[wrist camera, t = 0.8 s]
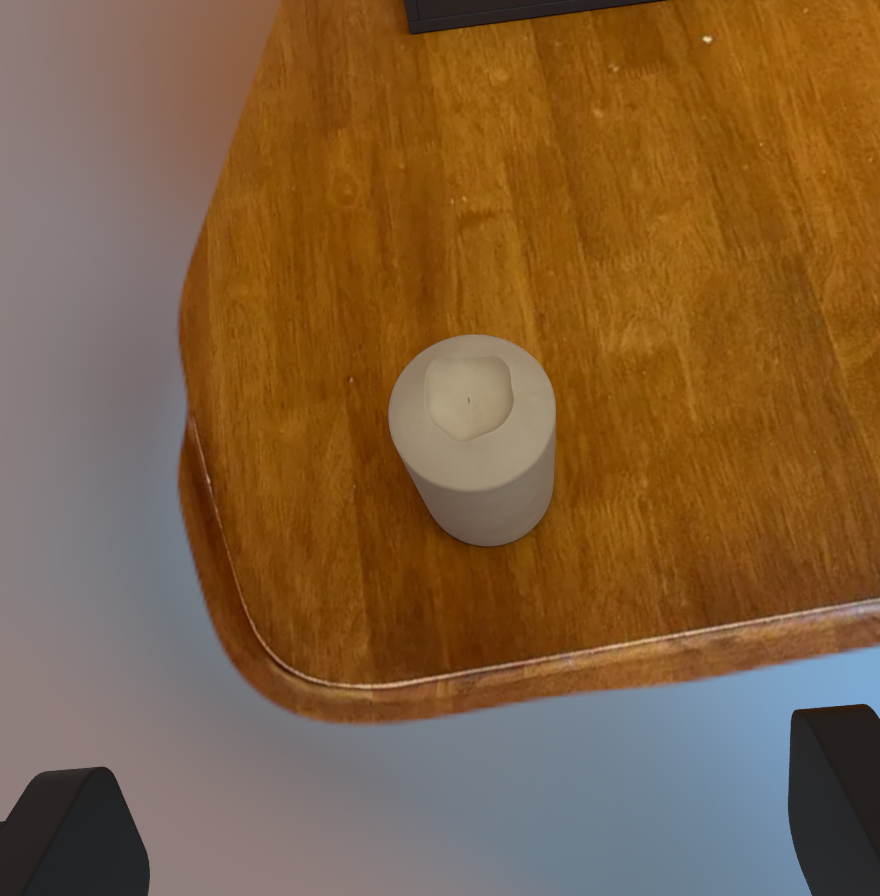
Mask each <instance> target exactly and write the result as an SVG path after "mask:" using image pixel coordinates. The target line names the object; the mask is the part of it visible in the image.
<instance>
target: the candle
mask: <svg viewBox="0 0 880 896" xmlns="http://www.w3.org/2000/svg"><path fill="white" fill-rule="evenodd" d="M388 420H389V428H390V433H391V437H392V439H393V442H394V444H395V447H396V449H397V451H398V453H399V455H400V457H401V458H402V460H403V462H404V464H405V466H406V468H407V470H408V472H409V474H410V476H411V478H412V479H413V481H414V483H415V485H416V487H417V489H418V491H419V493H420V495H421V497H422V498H423V500H424V502H425V504H426V506H427V508H428V510H429V511H430V513H431V515H432V516H433V518H434V519H435V521H436V522H437V523H438V524H439V525H440V526H441V527H442V528H443V529H444V530H445V531H446V532H447V533H449V534H450V535H451V536H453V537H455V538H457V539H459V540H461V541H463V542H466V543H469V544H473V545H477V546H498V545H503V544H507V543H510V542H513V541H515V540H517V539H519V538H521V537H522V536H524V535H526V534H527V533H528V532H529V531H531V530H532V529H533V528H534V527H535V526H536V525H537V524H538V523H539V521H540V520H541V519H542V517H543V516H544V514H545V512H546V511H547V509H548V506H549V504H550V501H551V497H552V493H553V484H554V461H555V425H556V405H555V397H554V392H553V389H552V386H551V383H550V380H549V378H548V376H547V374H546V373H545V371H544V370H543V368H542V367H541V365H540V364H539V363H538V362H537V361H536V360H535V359H534V357H532V356H531V355H530V354H529V353H528V352H527V351H525V350H524V349H522V348H521V347H519V346H517V345H516V344H514V343H511V342H509V341H507V340H504V339H501V338H498V337H493V336H488V335H477V334H476V335H462V336H456V337H452V338H449V339H445V340H443V341H441V342H438V343H436V344H434V345H432V346H430V347H429V348H427V349H425V350H424V351H423V352H421V353H420V354H418V355H417V356H416V357H415V358H414V359H413V360H412V361H411V362H410V363H409V364H408V365H407V366H406V368H405V369H404V370H403V372H402V373H401V375H400V376H399V378H398V380H397V382H396V384H395V386H394V388H393V391H392V394H391V397H390V403H389V412H388Z"/></svg>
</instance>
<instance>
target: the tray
mask: <svg viewBox="0 0 880 896" xmlns="http://www.w3.org/2000/svg"><path fill="white" fill-rule="evenodd" d="M650 1H658V0H404V4H405V9H406V14H407V19H408V24H409V29H410V33H412V34H413V33H420V32H427V31H435V30H442V29H450V28H457V27H465V26H472V25H479V24H487V23H494V22H502V21H509V20H517V19H524V18H532V17H539V16H546V15H554V14H561V13H569V12H576V11H584V10H591V9H598V8H606V7H613V6H621V5H628V4H636V3H643V2H650Z"/></svg>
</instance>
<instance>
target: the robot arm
mask: <svg viewBox="0 0 880 896" xmlns="http://www.w3.org/2000/svg"><path fill="white" fill-rule="evenodd" d="M788 793H789V794H788V813H789V823H790V829H791V835H792V839H793V844H794V847H795V851H796V854H797V858H798V861H799V864H800V866H801V869H802V872H803V874H804V877H805V879H806V882H807V884H808V886H809V889H810V891H811V894H812V896H880V719H879V717H878V716H877V714H876V713H875V712H874V710H873V709H871V707H869V706H868V705H866V704H857V705H845V706H834V707H822V708H810V709H799V710H795V711H794V712H793V714H792V718H791V734H790V764H789V792H788ZM149 880H150V868H149V860H148V855H147V852H146V849H145V847H144V844H143V842H142V840H141V837H140V835H139V832H138V830H137V828H136V825H135V823H134V821H133V818H132V816H131V813H130V811H129V809H128V806H127V804H126V801H125V799H124V797H123V795H122V792H121V790H120V787H119V785H118V782H117V780H116V778H115V776H114V774H113V773H112V772H111V771H110V770H109V769H108V768H106V767H93V768H82V769H70V770H58V771H46V772H42V773H40V774H38V775H37V776H35V777H34V778H33V780H31V782H30V783H29V785H28V786H27V787H26V789H25V791H24V792H23V794H22V795H21V797H20V798H19V800H18V802H17V803H16V805H15V806H14V808H13V810H12V811H11V813H10V814H9V816H8V817H7V819H6V821H3V822H0V896H148V890H149Z"/></svg>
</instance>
